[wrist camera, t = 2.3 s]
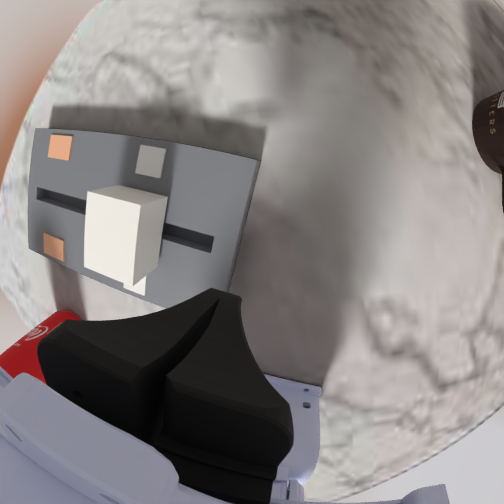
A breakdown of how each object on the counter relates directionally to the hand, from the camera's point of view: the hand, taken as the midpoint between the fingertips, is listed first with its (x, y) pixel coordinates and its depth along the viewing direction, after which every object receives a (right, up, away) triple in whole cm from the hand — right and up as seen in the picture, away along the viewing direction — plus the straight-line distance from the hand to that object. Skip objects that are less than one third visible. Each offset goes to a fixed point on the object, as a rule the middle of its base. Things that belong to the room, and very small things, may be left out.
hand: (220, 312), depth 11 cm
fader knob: (-6, +5, +8) cm, 12 cm away
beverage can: (-19, -6, +15) cm, 25 cm away
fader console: (-10, +6, +10) cm, 15 cm away
